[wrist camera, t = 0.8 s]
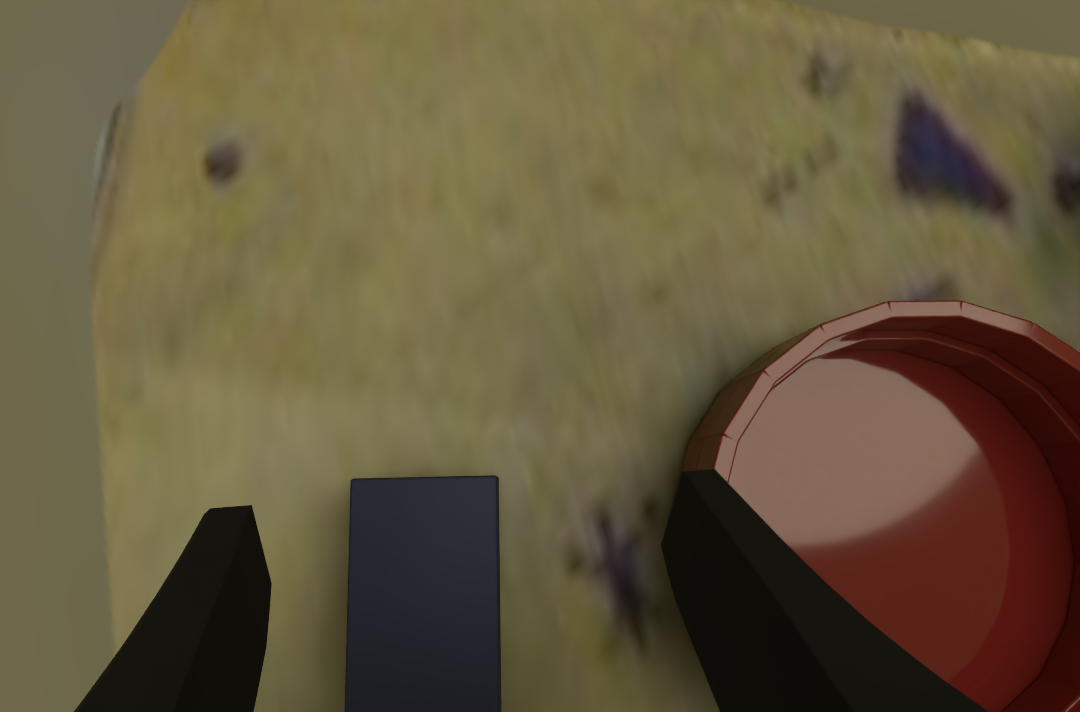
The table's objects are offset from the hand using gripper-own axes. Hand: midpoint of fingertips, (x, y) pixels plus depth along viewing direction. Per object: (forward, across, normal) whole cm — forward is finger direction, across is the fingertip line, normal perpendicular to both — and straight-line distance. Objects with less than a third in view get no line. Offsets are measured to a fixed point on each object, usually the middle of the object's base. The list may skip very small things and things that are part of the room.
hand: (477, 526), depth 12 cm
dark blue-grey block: (+6, 0, +13) cm, 15 cm away
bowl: (+6, -16, +10) cm, 20 cm away
